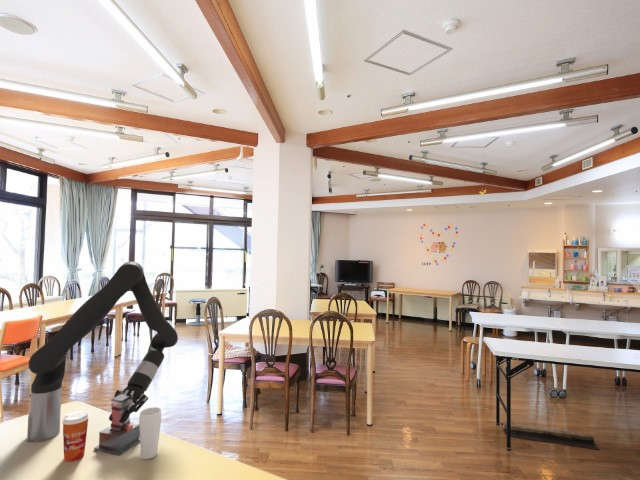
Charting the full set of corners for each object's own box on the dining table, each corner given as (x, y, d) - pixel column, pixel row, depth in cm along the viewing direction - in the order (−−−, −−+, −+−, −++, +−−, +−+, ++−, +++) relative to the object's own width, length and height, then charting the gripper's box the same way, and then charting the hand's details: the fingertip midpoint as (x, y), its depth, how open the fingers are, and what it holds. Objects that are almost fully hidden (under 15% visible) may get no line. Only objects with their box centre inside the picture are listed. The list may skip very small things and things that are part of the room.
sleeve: (119, 456, 119) (119, 434, 119) (94, 450, 122) (94, 429, 122) (143, 439, 129) (144, 420, 129) (120, 434, 132) (120, 415, 132)
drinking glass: (151, 462, 115) (152, 416, 116) (133, 460, 117) (135, 414, 117) (164, 451, 122) (165, 408, 122) (147, 449, 123) (148, 406, 124)
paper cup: (57, 466, 112) (60, 422, 113) (62, 454, 119) (64, 412, 120) (86, 460, 116) (88, 417, 117) (89, 448, 123) (91, 408, 123)
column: (119, 448, 123) (121, 400, 123) (109, 445, 124) (111, 398, 124) (129, 441, 127) (131, 395, 128) (119, 439, 128) (121, 394, 129)
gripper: (123, 369, 135) (94, 414, 123) (153, 373, 132) (126, 420, 119) (133, 378, 140) (106, 422, 128) (163, 382, 136) (137, 428, 124)
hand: (116, 421), depth 124 cm, fingers closed on column, 4 cm apart
